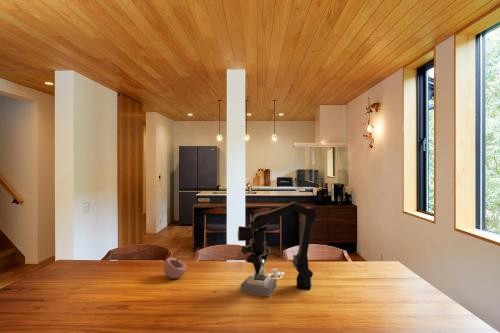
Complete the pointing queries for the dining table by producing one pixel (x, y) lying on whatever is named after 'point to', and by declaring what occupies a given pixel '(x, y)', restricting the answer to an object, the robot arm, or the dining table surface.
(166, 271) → the mortar and pestle
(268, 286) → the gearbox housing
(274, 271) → the teacup and saucer
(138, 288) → the dining table surface
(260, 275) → the metal can
